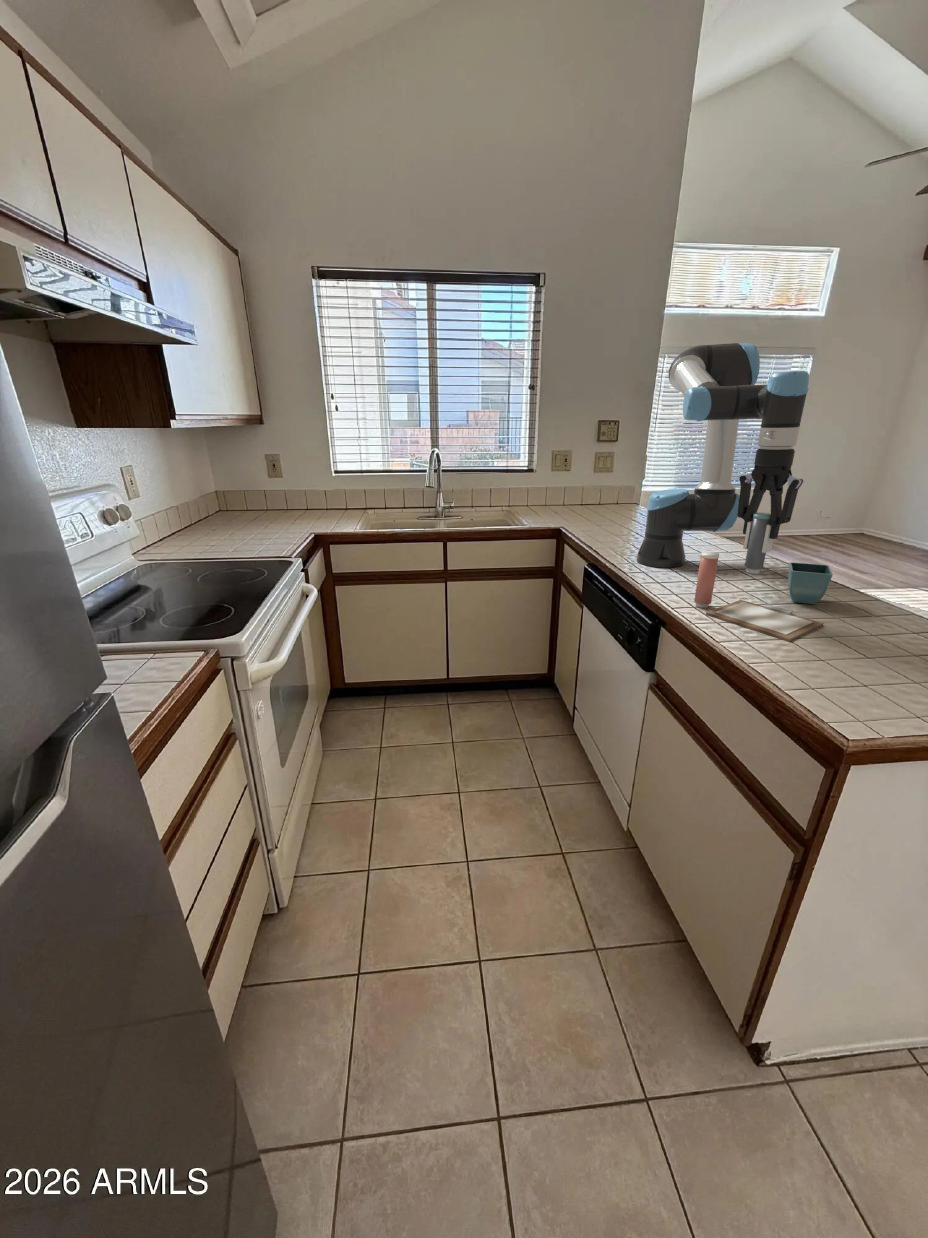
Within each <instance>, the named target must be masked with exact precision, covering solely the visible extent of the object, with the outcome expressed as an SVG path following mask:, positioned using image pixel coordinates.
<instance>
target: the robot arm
mask: <svg viewBox="0 0 928 1238" xmlns="http://www.w3.org/2000/svg"><path fill="white" fill-rule="evenodd" d="M760 364H761V361H760V353H759V351H758V348H757V346H756V345H755V344H754V343H746V342H745V343H743V342H735V343H733V342H732V343H719V344H701V345H700V344H699V345H695V346H692V347H689V348H688V349H685V350H684V351H682V352H681V353H680V354H678V355H677V356H676V357H675V358H673V361H672V362H671V364H670V366H669V369H668V381H669V383H670V385H671V386H672V387H673V389H675V390H677V391H678V392H681V394H682V395H683V397H684V398H683V403H682V416H683V419H685V420H686V421H696V422H703V421H705V422H706V421H707V423H706V424H707V426H706V433H705V441H704V451H703V459H702V469H701V475H700V482H699V484H697V486H695V487H694V492H693V493H690V492H689V489H686V488H668V489H663V490H658V491H655V492H653V493H652V494H650V496H649V498H648V503H647V507H646V509H647V510H646V511H647V512H646V522H645V532H644V537H643V540H642V543H641V545H640V547H639V550H638V552H637V553H636V554H637V555H636V561H637V563H639V564H641V565H643V566H644V565H645V566H647V567H653V568H679V567H681V566H684V565H685V563H686V553H685V548H684V542H683V536H684V532H713V533H716V532H726V531H729V530H730V529H731V528H733V526H734V525H735V523H736V522H737V519H738V518H740V519H742V520H744V523H743V527H742V528H743V529H742V534H743V535H745V536H744V543H743V549H744V550H747V549H748V544H749V538H750V533H751V527H752V522H753V515H754V513H758V510H759V507H760V504H761V502H762V500H763V497H764V494H765V493H766V492H767V491H769V496H770V514H771V523H769V525H767V527H766V532H765V537H764V542H763V548H762V552H763V553H766V554H767V553H770V552H771V551H772V548H773V544H774V540H775V539H777V538H778V536H779V531H780V527H781V525H782V524H787V523H790V522H791V519H792V515H793V512H794V508H795V504H796V501H797V496H798V491H799V489H800V488H801V486H802V485H803V483H804V479H802V478H797V477H795V476H793V473H792V472H793V471H792V466H793V463H794V458H795V453H796V450H795V449H794V448H793V447H795V446H797V444H798V437H799V431H800V428H801V427H800V426H801V423H802V417H803V412H804V407H805V403H806V400H807V394H808V391H809V383H810V382H809V381H810V373H809V372H808V371H805V370H794V371H793V370H790V371H779V372H778V371H777V372H773V373H772V374H770V376H769V380H768V382H767V384H756V383H757V381H758V376H759V374H760V368H761V366H760ZM740 420H761V423H760V429H759V435H758V441H757V446H758V447H759V448H757V450H756V451H755V457H754V468H753V469H752V471H751V472H750V473H747V474H745V475H744V474H743V475H740V476H739V477H738V478H739V483H740V489H739V490H740V491H739V494H738V493H737V492H736V487H735V486H734V485H733V484H732V476H733V475H732V474H733V468H734V461H735V454H736V453H735V452H736V448H737V438H738V429H739V424H740V423H739V422H740ZM752 482H754V488H753V491H752ZM787 482H788V483H787ZM785 484H787V490H786V493H785V497H784V500H783V493H784V486H785ZM751 493H752V495H751ZM782 500H783V501H782ZM782 503H783V505H782Z"/></svg>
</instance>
